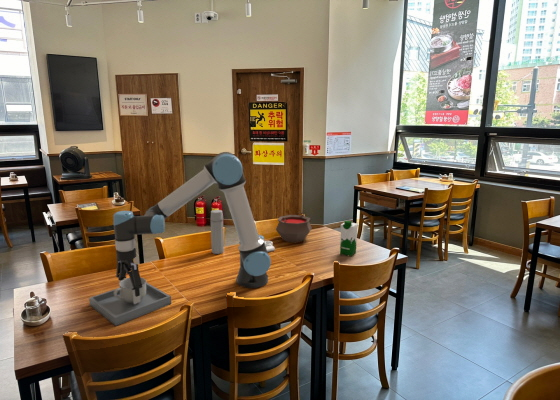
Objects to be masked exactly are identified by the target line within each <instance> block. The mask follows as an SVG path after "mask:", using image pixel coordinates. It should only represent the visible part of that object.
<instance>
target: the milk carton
mask: <svg viewBox="0 0 560 400" xmlns="http://www.w3.org/2000/svg"><path fill="white" fill-rule="evenodd" d="M358 226H359V224H358V223H357V222H356V223H355V222H352V220H344V222H343V223H341V224H340V245H339V249H340V250H339V252H340V253H339V254H340V255H342V254H343V256H347V255H349V256H348V257H352V256H354V255H355V254H356V253H357V243H358V242H357V241H358V240H357V239H358V238H357V237H358ZM354 253H355V254H354ZM353 254H354V255H353Z"/></svg>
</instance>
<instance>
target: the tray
mask: <svg viewBox="0 0 560 400" xmlns="http://www.w3.org/2000/svg"><path fill="white" fill-rule="evenodd" d="M115 289H116V288H115ZM115 289H112V290H111V289H110V290H109V291H105V292H102V293H100V294H97V295H93V296H90V297H89V298H88V299H89V306H90V307H91V308H92V309H93V310H95V311H96V312H97V313H99V314H100V315H101V316H103V317H104V318H105V319H106V320H108V321H109V322H110V323H111V324H112V325H113V326H115V327H117V326H120V325H122V324H124V323H127V322H130V321H132V320H134V319H137V318H140V317H142V316H145V315H147V314H150V313H153V312H154V311H157V310H160V309H161V308H165V307H167V306H170V305H172V296H171V295H169V294H167V292H164V291H163V290H160V289H159V288H157V287H155V286H153V285H152V284H150V283H148V282H147V281H146V294H145V296H144V297H143V298H142V299H141V302H139V303H136V304H134V303H133V302H132V303H131V302H126V301H125V300H121V299H119V298H116V297H115V296H114V291H115ZM117 296H120V290H119V291H118V292H117Z"/></svg>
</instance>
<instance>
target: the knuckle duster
mask: <svg viewBox="0 0 560 400" xmlns="http://www.w3.org/2000/svg"><path fill="white" fill-rule="evenodd" d="M264 243H265V246H266V249H267V252H274V251H275V250H276V248H275V246H273V245H274V243H273V241H271V240H265V242H264Z"/></svg>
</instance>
